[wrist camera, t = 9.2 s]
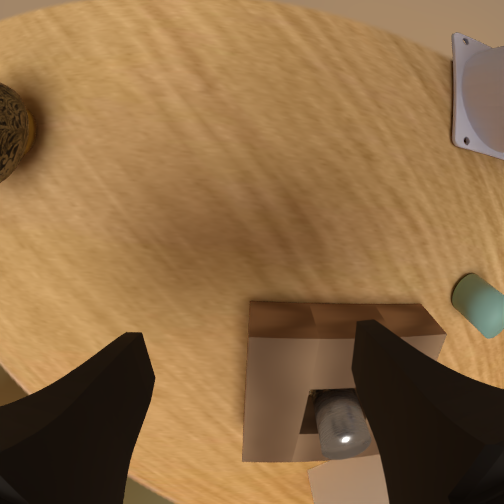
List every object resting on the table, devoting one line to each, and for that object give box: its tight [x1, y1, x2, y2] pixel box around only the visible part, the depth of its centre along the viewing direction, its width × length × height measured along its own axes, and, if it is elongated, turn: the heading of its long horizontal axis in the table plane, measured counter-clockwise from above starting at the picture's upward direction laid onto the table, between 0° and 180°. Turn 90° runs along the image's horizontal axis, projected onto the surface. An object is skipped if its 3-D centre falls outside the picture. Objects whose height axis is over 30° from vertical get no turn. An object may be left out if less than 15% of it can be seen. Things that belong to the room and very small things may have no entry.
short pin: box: [452, 274, 504, 338], centre depth 18 cm, size 3×3×4 cm
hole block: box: [242, 301, 447, 462], centre depth 20 cm, size 12×12×4 cm
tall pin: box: [310, 388, 371, 460], centre depth 19 cm, size 3×3×7 cm
